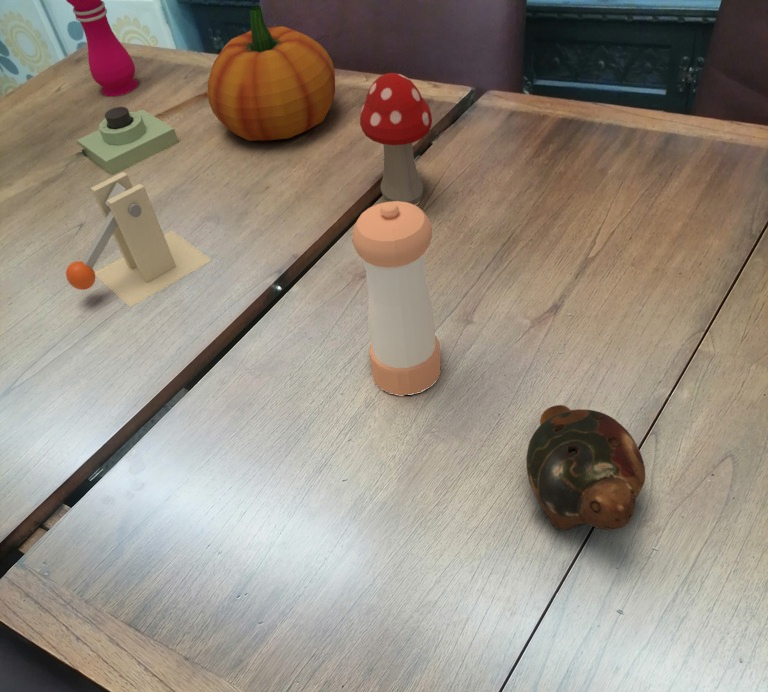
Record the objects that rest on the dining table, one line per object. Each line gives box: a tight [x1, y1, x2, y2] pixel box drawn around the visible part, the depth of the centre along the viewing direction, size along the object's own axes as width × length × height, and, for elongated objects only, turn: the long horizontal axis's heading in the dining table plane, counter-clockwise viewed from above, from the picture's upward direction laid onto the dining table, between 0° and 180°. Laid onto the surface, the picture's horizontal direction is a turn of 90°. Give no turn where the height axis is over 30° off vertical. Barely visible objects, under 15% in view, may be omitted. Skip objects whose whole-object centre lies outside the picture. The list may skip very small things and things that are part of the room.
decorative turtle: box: [525, 404, 646, 531], centre depth 60 cm, size 10×15×8 cm, turn 16°
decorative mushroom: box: [359, 72, 433, 205], centre depth 87 cm, size 10×9×15 cm
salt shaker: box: [351, 201, 442, 395], centre depth 66 cm, size 7×7×19 cm
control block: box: [76, 108, 179, 176], centre depth 107 cm, size 12×10×4 cm
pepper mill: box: [65, 0, 139, 97], centre depth 111 cm, size 7×7×20 cm
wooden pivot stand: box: [90, 171, 213, 308], centre depth 84 cm, size 12×10×12 cm
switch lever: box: [65, 183, 127, 291], centre depth 81 cm, size 13×3×3 cm
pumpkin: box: [206, 5, 336, 141], centre depth 102 cm, size 19×19×15 cm
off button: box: [104, 106, 132, 129], centre depth 105 cm, size 4×4×2 cm
